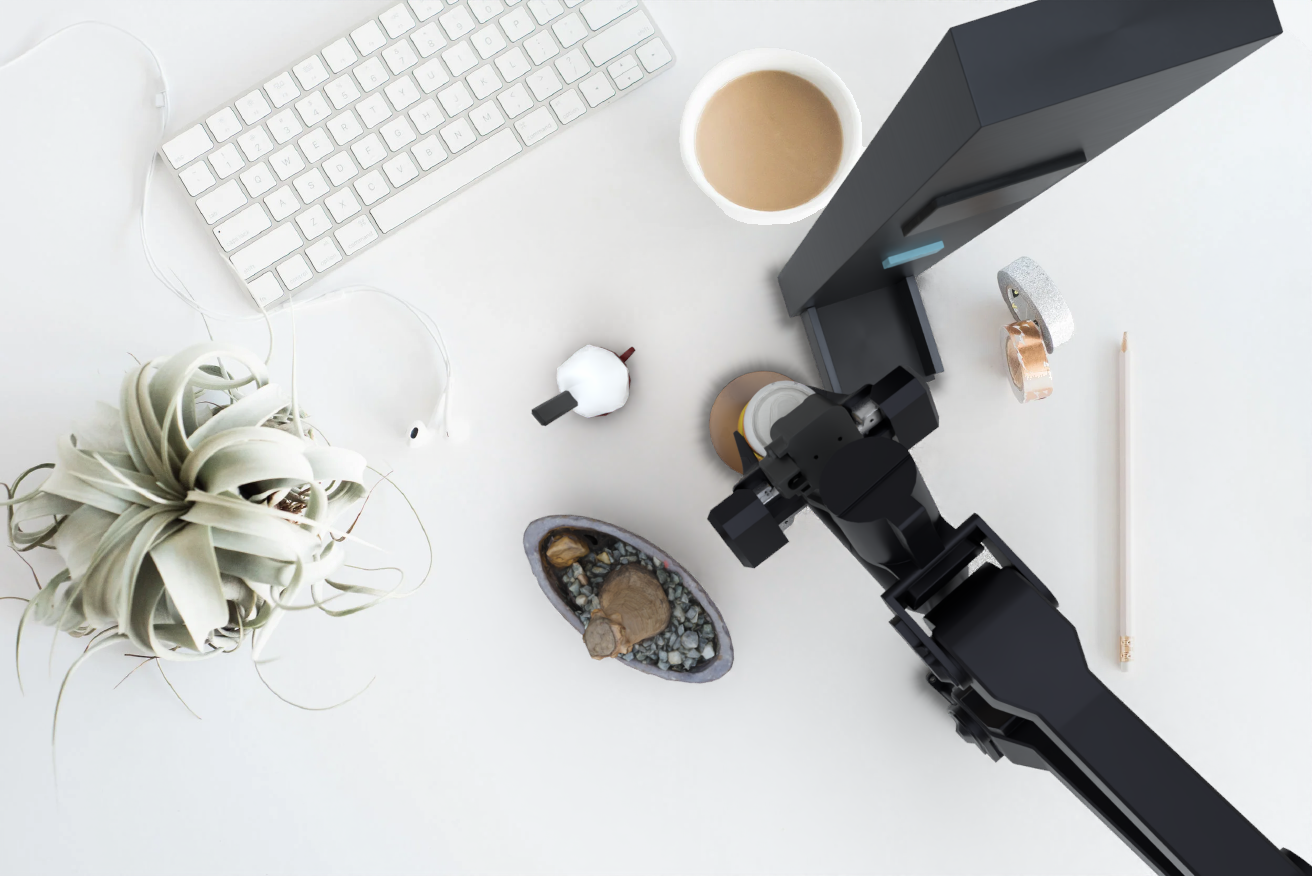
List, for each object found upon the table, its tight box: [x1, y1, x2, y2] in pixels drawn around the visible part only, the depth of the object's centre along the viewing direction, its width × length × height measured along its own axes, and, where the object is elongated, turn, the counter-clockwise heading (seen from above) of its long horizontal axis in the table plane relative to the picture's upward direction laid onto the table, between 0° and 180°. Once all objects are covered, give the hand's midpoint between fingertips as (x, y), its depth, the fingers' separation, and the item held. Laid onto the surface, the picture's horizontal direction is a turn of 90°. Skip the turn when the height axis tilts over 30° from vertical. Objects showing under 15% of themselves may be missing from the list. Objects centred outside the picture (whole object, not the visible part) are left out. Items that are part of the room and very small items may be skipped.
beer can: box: [738, 380, 815, 459], centre depth 68 cm, size 6×6×15 cm
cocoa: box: [531, 344, 637, 427], centre depth 71 cm, size 10×6×12 cm, turn 109°
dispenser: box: [776, 0, 1284, 394], centre depth 54 cm, size 14×12×46 cm
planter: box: [522, 514, 735, 684], centre depth 67 cm, size 15×17×20 cm
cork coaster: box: [708, 370, 796, 476], centre depth 77 cm, size 10×10×1 cm
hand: (767, 410), depth 69 cm, fingers closed on beer can, 6 cm apart
